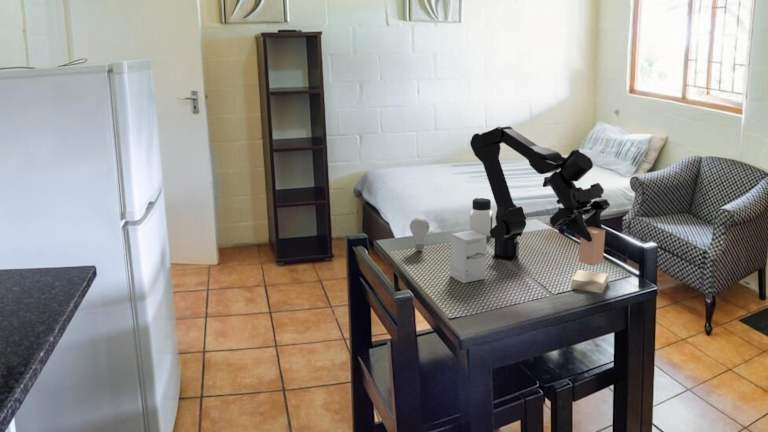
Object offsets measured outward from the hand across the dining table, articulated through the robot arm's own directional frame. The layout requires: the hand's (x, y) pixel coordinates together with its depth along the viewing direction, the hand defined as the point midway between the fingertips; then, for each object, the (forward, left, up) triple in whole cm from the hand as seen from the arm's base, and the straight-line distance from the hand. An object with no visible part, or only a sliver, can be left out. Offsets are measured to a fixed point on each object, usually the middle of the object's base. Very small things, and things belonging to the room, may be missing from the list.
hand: (596, 239), depth 186 cm
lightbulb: (-55, +9, -14) cm, 57 cm away
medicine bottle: (-44, +35, -14) cm, 58 cm away
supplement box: (-33, -7, -14) cm, 37 cm away
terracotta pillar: (-1, +1, -7) cm, 7 cm away
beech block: (-1, +1, -14) cm, 14 cm away
